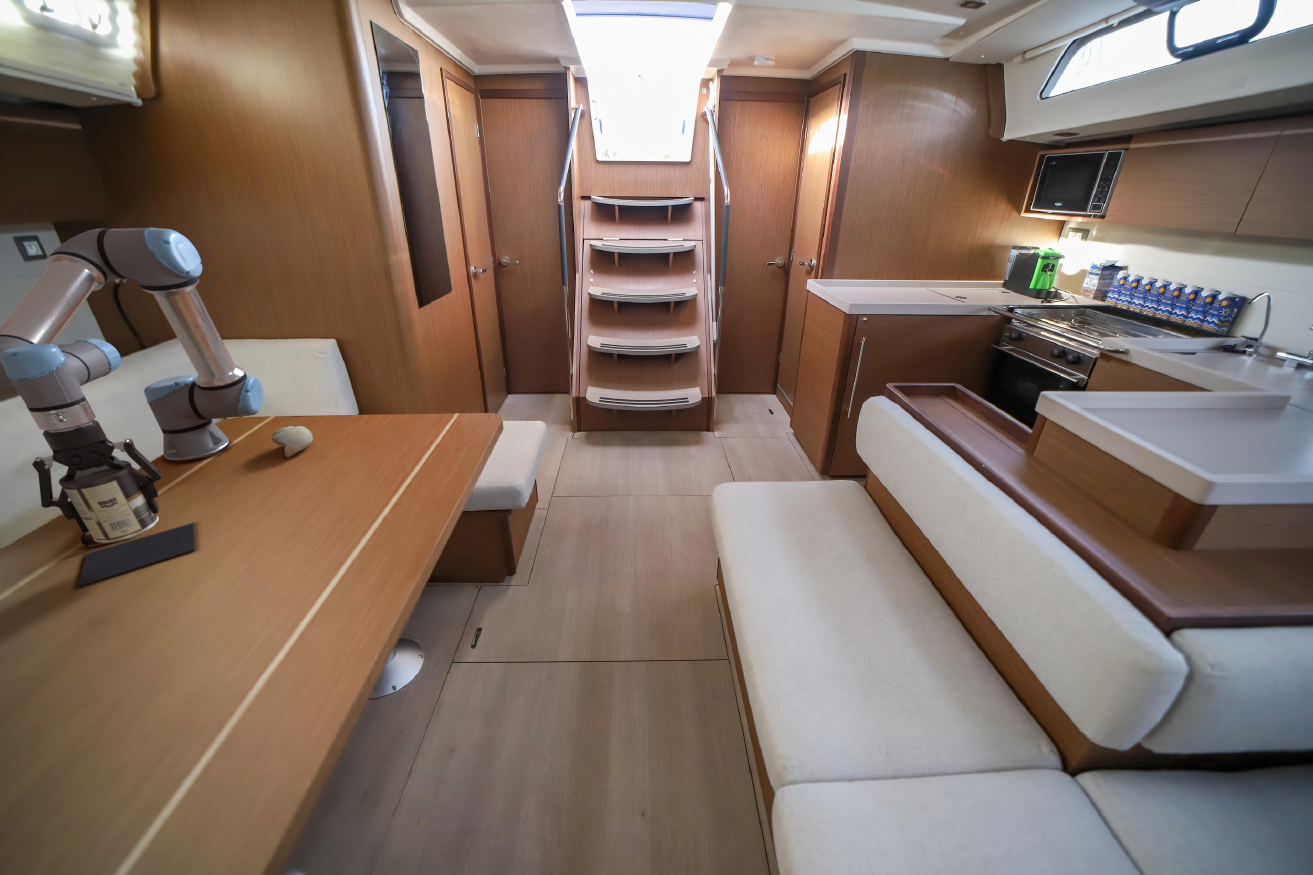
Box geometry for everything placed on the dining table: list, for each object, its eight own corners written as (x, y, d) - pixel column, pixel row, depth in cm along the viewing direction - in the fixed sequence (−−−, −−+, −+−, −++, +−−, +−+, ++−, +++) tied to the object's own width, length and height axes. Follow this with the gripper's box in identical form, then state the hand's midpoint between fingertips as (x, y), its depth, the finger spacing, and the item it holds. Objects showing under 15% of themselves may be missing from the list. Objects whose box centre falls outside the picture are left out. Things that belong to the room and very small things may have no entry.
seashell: (267, 424, 154) (303, 414, 158) (279, 445, 159) (315, 434, 163) (267, 443, 145) (306, 432, 149) (280, 465, 150) (318, 453, 154)
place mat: (87, 555, 110) (86, 554, 109) (193, 524, 120) (193, 522, 120) (78, 587, 101) (77, 586, 101) (194, 550, 111) (194, 549, 111)
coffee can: (140, 511, 113) (111, 456, 107) (170, 520, 110) (142, 464, 104) (80, 537, 105) (45, 479, 98) (111, 548, 102) (77, 488, 95)
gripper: (-27, 448, 88) (40, 550, 97) (147, 416, 101) (191, 508, 111) (-16, 434, 93) (47, 532, 102) (149, 405, 106) (191, 494, 116)
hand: (122, 519), depth 107 cm, fingers closed on coffee can, 10 cm apart
